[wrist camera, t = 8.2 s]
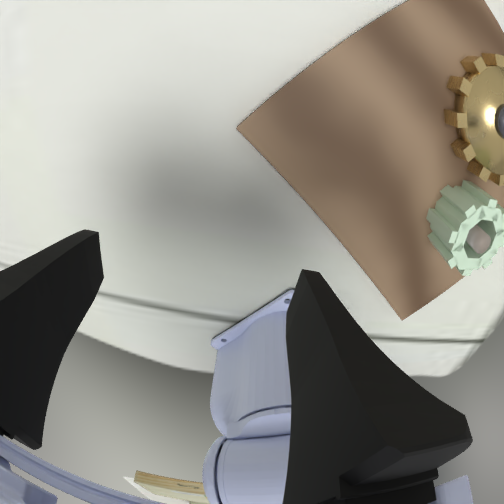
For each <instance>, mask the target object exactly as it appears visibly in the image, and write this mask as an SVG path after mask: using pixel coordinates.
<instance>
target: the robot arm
mask: <svg viewBox="0 0 504 504" xmlns="http://www.w3.org/2000/svg"><path fill="white" fill-rule="evenodd" d="M103 278H104V275H103V268H102V260H101V252H100V242H99V232H96V231H90V230H82V231H79V232H77V233H75V234H73V235H70V236H68V237H66V238H64V239H63V240H61V241H59V242H57V243H55V244H53V245H51V246H49V247H47V248H45V249H44V250H42V251H40V252H38V253H36V254H34V255H32V256H30V257H28V258H26V259H24V260H22V261H21V262H19V263H17V264H15V265H13V266H11V267H9V268H6V269H4V270H2V271H0V504H56V502H57V499H58V498H57V497H56V496H55V495H54V494H52V493H50V492H48V491H46V490H44V489H42V488H40V487H39V486H37V485H35V484H33V483H31V482H29V481H28V480H26V479H24V478H22V477H20V476H19V475H17V474H15V473H14V472H12V470H11V469H10V464H9V462H10V463H12V464H13V465H15V466H17V467H18V468H20V469H22V470H23V471H25V472H27V473H28V474H30V475H32V476H34V477H36V478H37V479H39V480H41V481H43V482H45V483H47V484H49V485H51V486H53V487H55V488H57V489H59V490H61V491H63V492H65V493H67V494H70V495H72V496H74V497H77V498H79V499H81V500H84V501H86V502H89V503H91V504H165V503H160V502H156V501H152V500H148V499H144V498H140V497H137V496H133V495H130V494H126V493H123V492H120V491H117V490H114V489H111V488H108V487H105V486H102V485H99V484H96V483H94V482H91V481H89V480H86V479H84V478H81V477H79V476H76V475H74V474H72V473H70V472H67V471H65V470H63V469H61V468H59V467H56V466H54V465H52V464H50V463H48V462H46V461H44V460H42V459H40V458H38V457H37V456H35V455H33V454H31V453H29V452H28V451H26V450H24V449H22V448H21V447H19V446H17V445H16V444H14V443H12V442H11V441H9V440H7V439H6V438H4V437H3V435H6V436H7V437H9V438H10V439H13V438H14V439H16V440H17V441H19V442H21V443H22V444H24V445H26V446H27V447H29V448H31V449H33V450H36V449H39V448H40V447H41V446H42V437H43V429H44V422H45V416H46V411H47V407H48V403H49V398H50V394H51V391H52V387H53V384H54V380H55V377H56V374H57V372H58V369H59V366H60V363H61V361H62V358H63V355H64V353H65V351H66V349H67V347H68V345H69V343H70V341H71V339H72V338H73V336H74V334H75V332H76V330H77V329H78V327H79V325H80V323H81V322H82V320H83V318H84V317H85V315H86V313H87V311H88V310H89V308H90V306H91V304H92V303H93V301H94V299H95V297H96V295H97V292H98V290H99V288H100V285H101V283H102V281H103ZM285 299H290V300H285ZM211 346H212V347H214V348H215V349H217V350H218V351H217V358H216V364H215V371H214V378H213V384H212V391H211V398H210V410H211V414H212V418H213V420H214V423H215V425H216V426H217V428H218V429H219V431H220V432H221V433H222V434H223V435H224V436H221V437H219V438H217V439H216V440H215V442H214V443H213V444H212V446H211V448H210V449H209V450H208V452H207V454H206V457H205V460H204V464H203V487H204V491H205V495H206V497H207V499H208V501H209V503H210V504H473V499H472V493H471V488H470V484H469V479H468V476H467V475H464V476H461V477H459V478H457V479H454V480H451V481H449V482H446V483H443V484H441V485H438V486H436V487H434V483H433V480H435V479H437V478H438V470H437V468H438V467H439V466H441V465H443V464H444V463H446V462H448V461H450V460H451V459H453V458H455V457H456V456H458V455H459V454H461V453H462V452H464V451H465V450H466V449H467V448H468V447H469V446H470V445H471V443H472V441H473V439H472V436H471V433H470V429H469V426H468V423H467V420H466V417H465V415H463V414H462V413H460V412H459V411H457V410H456V409H454V408H452V407H451V406H449V405H447V404H446V403H444V402H442V401H441V400H439V399H438V398H436V397H435V396H434V395H432V394H431V393H429V392H428V391H426V390H425V389H424V388H423V387H421V386H420V385H419V384H418V383H416V382H415V381H414V380H413V379H411V378H410V377H409V376H408V375H407V374H406V373H404V372H403V371H402V370H401V369H400V368H399V367H398V366H396V365H395V364H394V363H393V362H392V361H391V360H390V359H389V358H388V357H387V356H386V355H385V354H384V353H383V352H382V351H381V350H380V349H379V348H378V347H377V346H376V345H375V343H374V342H373V341H372V340H371V339H370V338H369V337H368V336H367V334H366V333H365V332H364V331H363V330H362V328H361V327H360V326H359V325H358V324H357V322H356V321H355V320H354V319H353V317H352V316H351V315H350V313H349V312H348V311H347V309H346V308H345V307H344V305H343V304H342V303H341V301H340V300H339V299H338V297H337V296H336V294H335V293H334V292H333V290H332V289H331V288H330V286H329V285H328V283H327V282H326V281H325V279H324V278H323V277H322V275H321V274H320V273H319V272H315V271H310V270H304V269H302V271H301V273H300V276H299V279H298V282H297V285H296V287H295V290H289V291H288V292H286V293H285V294H283V295H282V296H280V297H278V298H277V299H275V300H274V301H272V302H271V303H269V304H268V305H266V306H265V307H263V308H262V309H260V310H258V311H257V312H255V313H254V314H252V315H251V316H249V317H248V318H246V319H244V320H243V321H241V322H240V323H238V324H236V325H235V326H233V327H232V328H230V329H228V330H227V331H225V332H224V333H222V334H220V335H219V336H217V337H215V338H214V339H212V340H211ZM8 461H9V462H8Z"/></svg>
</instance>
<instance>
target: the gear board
mask: <svg viewBox="0 0 504 504" xmlns="http://www.w3.org/2000/svg"><path fill="white" fill-rule="evenodd" d="M481 53H491V54H499V55H503V56H504V33H503V31H502V29H501V27H500V25H499V24H498V22H497V20H496V19H495V17H494V15H493V14H492V12H491V10H490V9H489V7H488V6H487V4H486V2H485V1H484V0H408V1H406V2H404V3H402V4H401V5H399V6H397V7H395V8H394V9H392V10H390V11H389V12H387V13H385V14H384V15H382V16H381V17H379V18H377V19H376V20H374V21H373V22H371V23H370V24H368V25H366V26H365V27H363V28H362V29H360V30H359V31H357V32H356V33H354V34H353V35H351V36H350V37H348V38H347V39H346V40H344V41H343V42H341V43H340V44H338V45H337V46H336V47H334V48H333V49H331V50H330V51H329V52H327V53H326V54H325V55H323V56H322V57H320V58H319V59H318V60H316V61H315V62H314V63H313V64H311V65H310V66H309V67H307V68H306V69H305V70H303V71H302V72H301V73H300V74H298V75H297V76H296V77H295V78H293V79H292V80H291V81H290V82H288V83H287V84H286V85H285V86H283V87H282V88H281V89H280V90H278V91H277V92H276V93H275V94H274V95H273V96H271V97H270V98H269V99H268V100H267V101H265V102H264V103H263V104H262V105H261V106H260V107H258V108H257V109H256V110H255V111H254V112H253V113H252V114H251V115H249V116H248V117H247V118H246V119H245V120H244V121H243V122H242V123H240V124H239V125H238V126H237V128H236V129H237V130H238V131H239V132H240V133H241V134H242V135H243V136H244V137H245V138H246V139H247V140H248V141H249V142H250V143H251V144H252V145H253V146H254V147H255V148H256V149H257V150H258V151H259V152H260V153H261V154H262V155H263V156H264V157H265V158H266V159H267V160H268V161H269V163H270V164H271V165H272V166H273V167H274V168H275V169H276V170H277V171H278V172H279V173H280V174H281V175H282V176H283V177H284V178H285V180H286V181H287V182H288V183H289V184H290V185H291V186H292V187H293V188H294V189H295V190H296V192H297V193H298V194H299V195H300V196H301V197H302V198H303V199H304V200H305V201H306V203H307V204H308V205H309V206H310V207H311V208H312V209H313V211H314V212H315V213H316V214H317V215H318V216H319V217H320V219H321V220H322V221H323V222H324V223H325V224H326V225H327V227H328V228H329V229H330V230H331V231H332V232H333V234H334V235H335V236H336V237H337V238H338V240H339V241H340V242H341V243H342V244H343V246H344V247H345V248H346V249H347V250H348V252H349V253H350V254H351V255H352V257H353V258H354V259H355V260H356V261H357V263H358V264H359V265H360V266H361V268H362V269H363V270H364V271H365V273H366V274H367V275H368V276H369V278H370V279H371V280H372V282H373V283H374V284H375V285H376V287H377V288H378V289H379V291H380V292H381V293H382V295H383V296H384V297H385V298H386V300H387V301H388V302H389V304H390V305H391V306H392V308H393V309H394V310H395V312H396V313H397V315H398V316H399V317H400V319H401V320H404V319H405V318H407V317H408V316H410V315H411V314H413V313H414V312H416V311H417V310H419V309H420V308H422V307H423V306H425V305H426V304H428V303H429V302H431V301H432V300H433V299H435V298H436V297H438V296H439V295H440V294H442V293H443V292H445V291H446V290H447V289H449V288H450V287H451V286H453V285H454V284H455V283H457V282H458V281H459V280H461V279H462V278H463V277H464V276H462V275H461V274H460V272H459V271H458V270H457V268H456V267H455V266H454V267H453V268H452V269H451V268H450V266H449V265H448V264H447V262H446V261H445V260H444V259H443V257H442V256H441V255H440V253H439V252H438V251H437V250H436V248H435V247H434V246H433V245H432V243H431V242H430V240H429V238H428V235H429V234H430V233H432V230H431V228H430V224H431V223H430V222H429V221H428V220H427V219H426V218H427V214H428V210H429V208H432V209H435V206H436V202H437V201H438V200H439V199H440V198H441V197H442V195H441V193H440V191H441V190H442V189H443V188H444V187H445V186H447V185H449V186H451V187H452V188H454V187H455V186H461V187H462V183H463V180H466V181H470V182H472V183H474V184H475V185H477V186H478V187H480V188H481V189H482V190H484V191H485V192H487V193H488V194H489V195H491V196H492V197H493V198H495V199H496V200H497V204H499V205H500V206H501V207H503V208H504V186H498V185H497V184H495V183H494V182H492V181H491V180H489V179H488V180H487V182H485V181H483V180H482V179H480V178H479V177H477V176H476V175H474V174H473V173H471V172H470V171H468V170H467V167H468V165H469V162H470V161H469V162H466V161H465V160H463V159H461V158H459V157H457V156H456V155H455V153H454V151H453V149H452V147H451V145H450V144H451V143H453V142H454V141H455V140H456V139H458V135H457V132H456V127H454V126H451V125H448V124H446V123H445V118H444V109H454V100H455V94H454V93H453V92H452V91H450V90H449V89H448V88H446V87H447V84H448V81H449V78H450V76H457V77H463V76H464V74H465V73H466V72H465V70H464V68H463V66H462V64H461V63H460V61H461V60H463V59H464V58H465V57H467V56H481V57H482V55H481ZM466 242H467V243H468V244H469V245H470V246H471V247H472V248H473V249H474V250H475V251H476V252H477V253H478V254H482V253H484V252H485V251H486V250H487V249H488V247H489V245H490V242H491V239H490V236H489V235H488V234H487V233H486V232H485V231H484V230H483V229H481V228H480V227H479V226H478V225H477V224H476V225H475V226H474V227H472V228H471V229H470V230H469V232H468V235H467V238H466Z"/></svg>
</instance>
